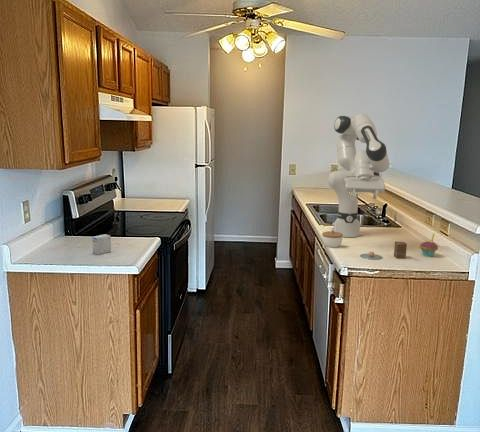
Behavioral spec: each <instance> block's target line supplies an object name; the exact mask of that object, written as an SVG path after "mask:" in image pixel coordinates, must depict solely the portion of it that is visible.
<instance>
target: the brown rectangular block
mask: <svg viewBox="0 0 480 432" xmlns="http://www.w3.org/2000/svg"><path fill="white" fill-rule="evenodd" d="M407 245H408V243H407V242H405V241H397V240H396V241H394V247H393V248H394V251H393V257H394V258H395V259H397V260H400V259H403V260H404V259H406V258H407V248H408V247H407Z"/></svg>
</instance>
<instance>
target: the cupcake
mask: <svg viewBox="0 0 480 432" xmlns="http://www.w3.org/2000/svg"><path fill="white" fill-rule="evenodd" d="M434 237H435V233H433V234H432V236H431V240H430V241H424V242H422V243H420V245H419V249H420V250H421V251H422V255H423V256H424V257H430V258H431V257H433V256H434V255H435V252H436V251H438V249H439V246H438V244H436V243H435V242H433V241H434Z"/></svg>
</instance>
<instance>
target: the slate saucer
mask: <svg viewBox="0 0 480 432" xmlns="http://www.w3.org/2000/svg"><path fill="white" fill-rule="evenodd" d="M359 257H360V258H362V259H364V260H370V261H379V260H383V258H384V257H383V256H382V255H379V254H375V252H374V251H369V252H368V253H362V254H360V255H359Z"/></svg>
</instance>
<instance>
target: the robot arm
mask: <svg viewBox="0 0 480 432" xmlns="http://www.w3.org/2000/svg"><path fill="white" fill-rule="evenodd" d="M333 128H334V131H335V132H336V133H338V134H340V135H339V136H338V138H337V143H336V149H337V150H336V153H337V162H338V164H339V166H340V167H341V168H342V169H343V170H334V171H331V172H330V173H329V175H328V177H327V183H328V185H329V187H331V189H332V190H334V192H335V193H336V195H337V198H338V211H337V213H336V214H337V215H336V216H337V218H336V219H335V221H334V222H332V227H331V230H330V231H332V230H333V231H334V232H339V233H342V234H343V236H342V238H357V237H360V236H363V233H362V232H361V222H360V221H359V220H358V218H359V212H358V208H359V207H358V206H359V200H358V199H359V194H358V193H369V194H370V193H371V194H373V195H372V199H373V200H377V197H378V194H383V193H384V192H385V190H386V185H385V181H384V179H383V177H382V173H383V172H385V171H387V170H388V168H389V167H390V163H391V162H390V158H389V156H388V152H387V145H386V144H385V143H384V142H382V141H381V140H380V139H379V138H378V133H377V128H376V126H375V123H374V121H372V119H371V118H370V116H369V115H368V114H365V113H359V114H357V115H355V117H354V116H347V115H340V116H337V118H335V120H334V124H333ZM356 140H357V141H360V143H362V144H366V147H365V150H359V151H358V152H357V149H356ZM351 193H352V194H351Z"/></svg>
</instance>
